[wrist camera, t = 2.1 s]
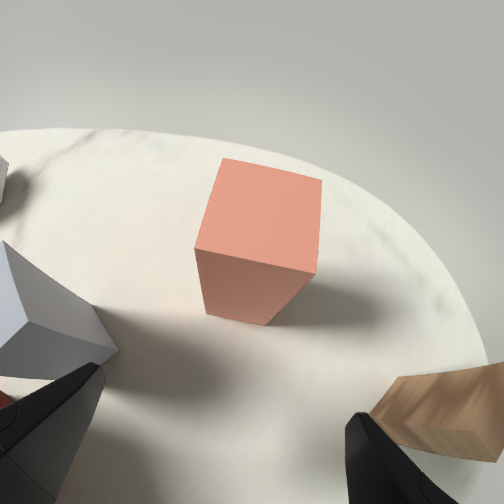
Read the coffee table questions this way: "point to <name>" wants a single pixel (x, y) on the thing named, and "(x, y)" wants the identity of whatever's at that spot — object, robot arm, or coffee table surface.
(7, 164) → the die
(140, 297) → the coffee table surface
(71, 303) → the slate pillar
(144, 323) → the coffee table surface
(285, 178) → the salmon block
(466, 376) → the walnut pillar
